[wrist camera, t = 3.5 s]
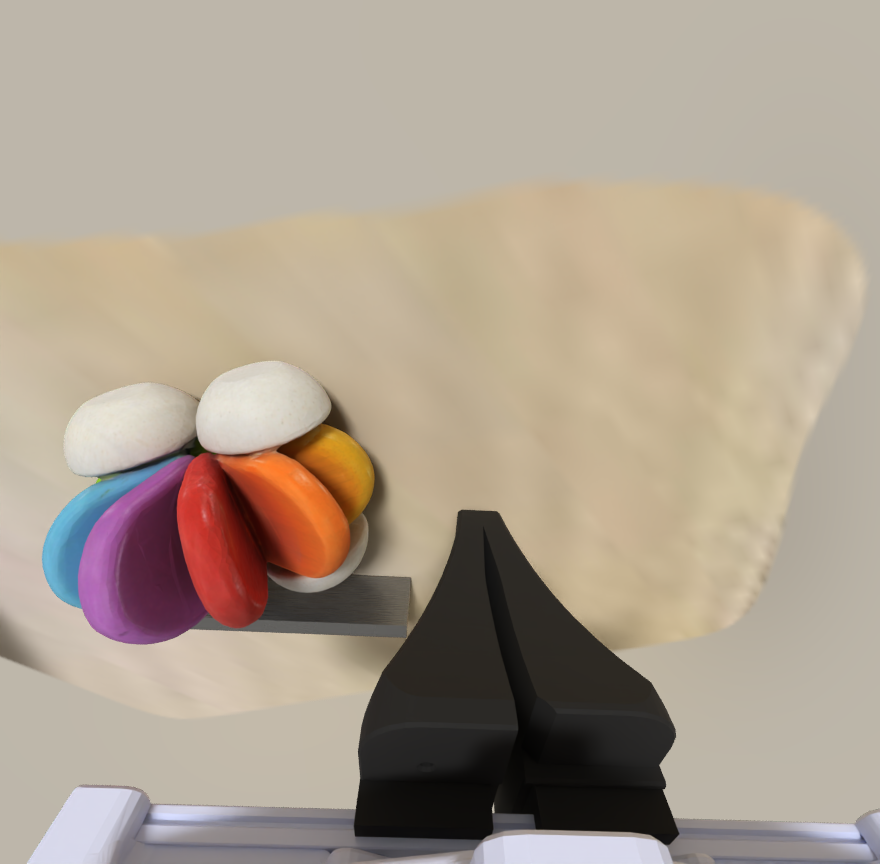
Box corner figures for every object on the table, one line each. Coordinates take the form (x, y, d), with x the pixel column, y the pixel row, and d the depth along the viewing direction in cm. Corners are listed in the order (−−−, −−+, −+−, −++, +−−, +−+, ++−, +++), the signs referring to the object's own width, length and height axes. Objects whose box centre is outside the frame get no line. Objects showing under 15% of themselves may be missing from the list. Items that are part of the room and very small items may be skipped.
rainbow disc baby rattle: (401, 525, 17) (379, 705, 11) (196, 551, 18) (64, 733, 12) (348, 337, 13) (263, 449, 7) (87, 381, 14) (-204, 517, 8)
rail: (201, 580, 19) (170, 628, 17) (197, 568, 18) (164, 615, 16) (410, 589, 19) (406, 637, 17) (410, 577, 19) (406, 625, 16)
